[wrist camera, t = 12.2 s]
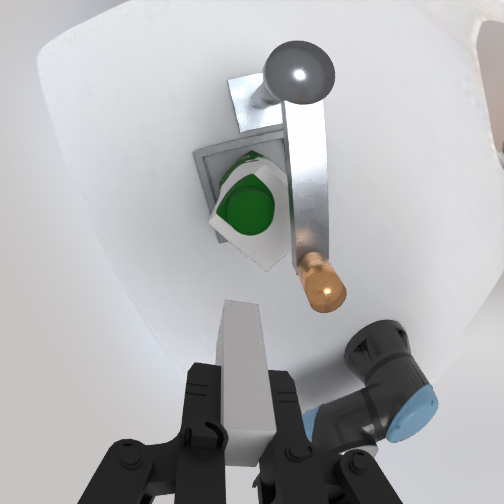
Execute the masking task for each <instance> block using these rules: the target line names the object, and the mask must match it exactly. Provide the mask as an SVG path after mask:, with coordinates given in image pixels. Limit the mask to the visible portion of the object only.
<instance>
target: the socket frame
mask: <svg viewBox="0 0 504 504" xmlns="http://www.w3.org/2000/svg"><path fill="white" fill-rule="evenodd" d="M280 138H284V135H283V130H278V131H273V132H268V133H263V134H259V135H254V136H250V137H245V138H241V139H237V140H233V141H229V142H225V143H221V144H217V145H213V146H210V147H206V148H202V149H199V150H195V151H194V152H193V155H194V158H195V162H196V165H197V169H198V173H199V176H200V180H201V183H202V187H203V190H204V194H205V197H206V201H207V204H208V207H209V211H210V214H212V212H213V210H214V208H215V205H216V203H217V201H216V198H215V194H214V190H213V187H212V183H211V180H210V176H209V172H208V169H207V165H206V161H205V158H204V157H205V156H208V155H212V154H216V153H220V152H224V151H227V150H231V149H236V148H240V147H244V146H248V145H252V144H257V143H261V142H266V141H271V140H275V139H280ZM215 231H216V230H215ZM216 234H217V238H218V241H219V243H223V242H227V241H228V240H227V239H226V238H225V237H223V236H222V235H221V234H220V233H219V232H218V231H216Z"/></svg>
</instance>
